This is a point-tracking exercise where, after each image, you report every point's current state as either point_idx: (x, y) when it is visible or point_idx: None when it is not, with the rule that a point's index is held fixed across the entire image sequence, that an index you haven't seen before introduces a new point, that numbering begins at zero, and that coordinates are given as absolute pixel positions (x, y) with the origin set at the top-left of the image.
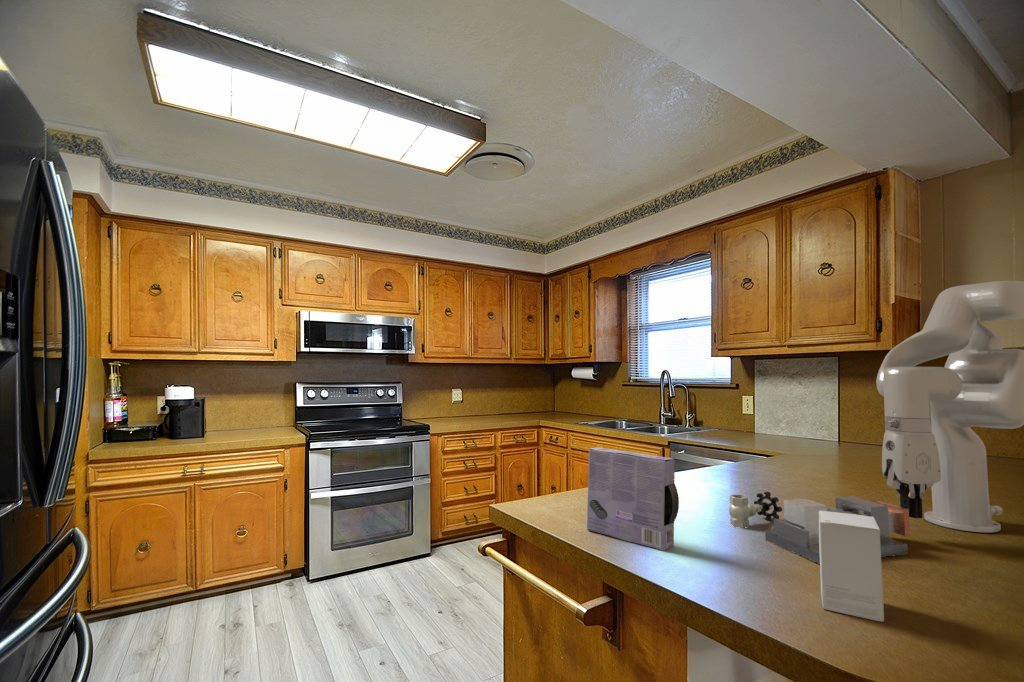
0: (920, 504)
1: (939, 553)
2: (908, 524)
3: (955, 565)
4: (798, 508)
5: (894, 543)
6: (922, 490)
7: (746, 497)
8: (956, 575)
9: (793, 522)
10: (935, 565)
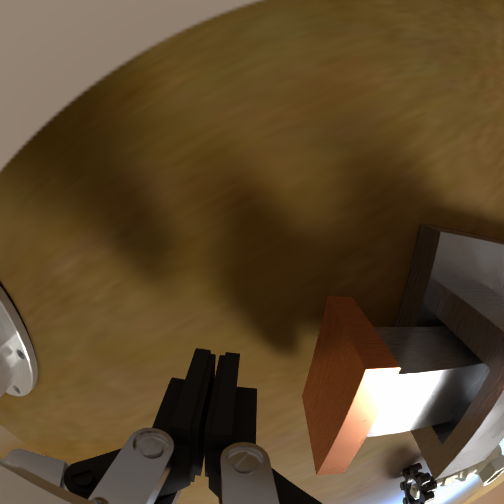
0: (194, 398)
1: (300, 190)
2: (347, 319)
3: (376, 101)
4: None
5: (465, 252)
6: (132, 469)
7: (496, 472)
8: (446, 73)
9: None
10: (431, 133)
